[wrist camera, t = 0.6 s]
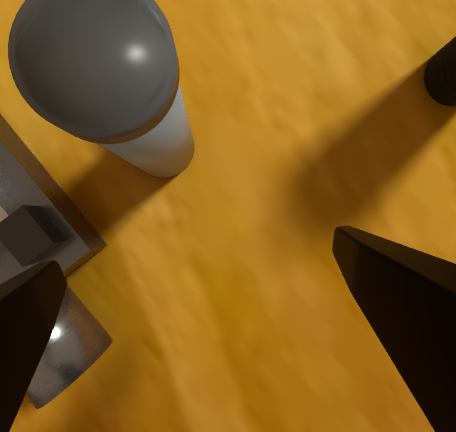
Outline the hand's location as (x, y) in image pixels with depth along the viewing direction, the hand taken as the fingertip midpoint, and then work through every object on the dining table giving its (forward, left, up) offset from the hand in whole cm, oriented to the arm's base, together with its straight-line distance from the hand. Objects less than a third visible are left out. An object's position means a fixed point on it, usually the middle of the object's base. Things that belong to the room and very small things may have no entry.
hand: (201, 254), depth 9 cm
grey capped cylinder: (+8, +4, -13) cm, 16 cm away
